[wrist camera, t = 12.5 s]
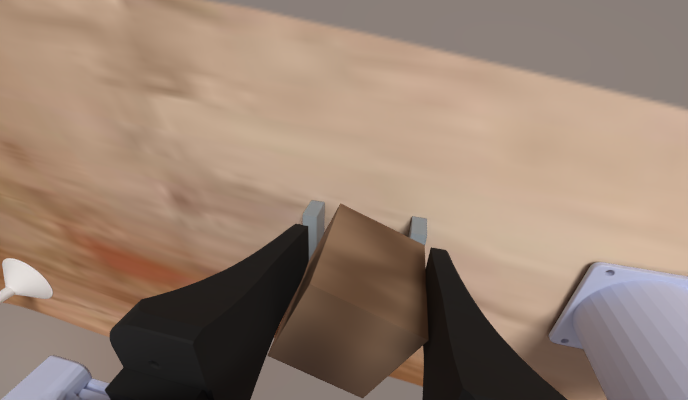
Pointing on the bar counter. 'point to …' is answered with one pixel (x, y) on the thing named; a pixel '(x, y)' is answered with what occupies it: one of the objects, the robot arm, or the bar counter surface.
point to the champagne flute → (23, 281)
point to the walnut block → (356, 305)
